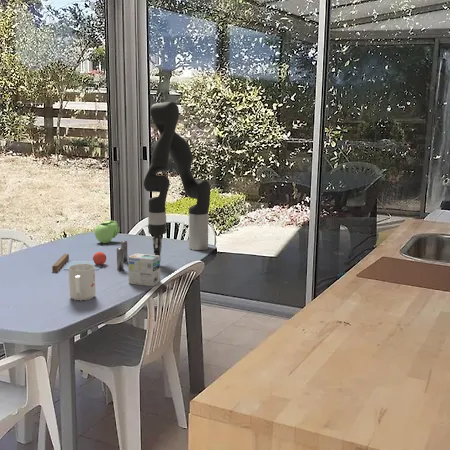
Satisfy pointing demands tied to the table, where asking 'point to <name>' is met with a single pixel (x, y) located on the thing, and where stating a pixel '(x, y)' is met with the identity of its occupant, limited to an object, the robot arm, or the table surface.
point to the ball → (99, 258)
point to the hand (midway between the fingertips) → (157, 262)
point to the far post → (124, 251)
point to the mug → (82, 281)
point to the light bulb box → (144, 269)
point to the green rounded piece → (106, 231)
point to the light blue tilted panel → (83, 263)
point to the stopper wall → (60, 263)
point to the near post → (120, 259)
